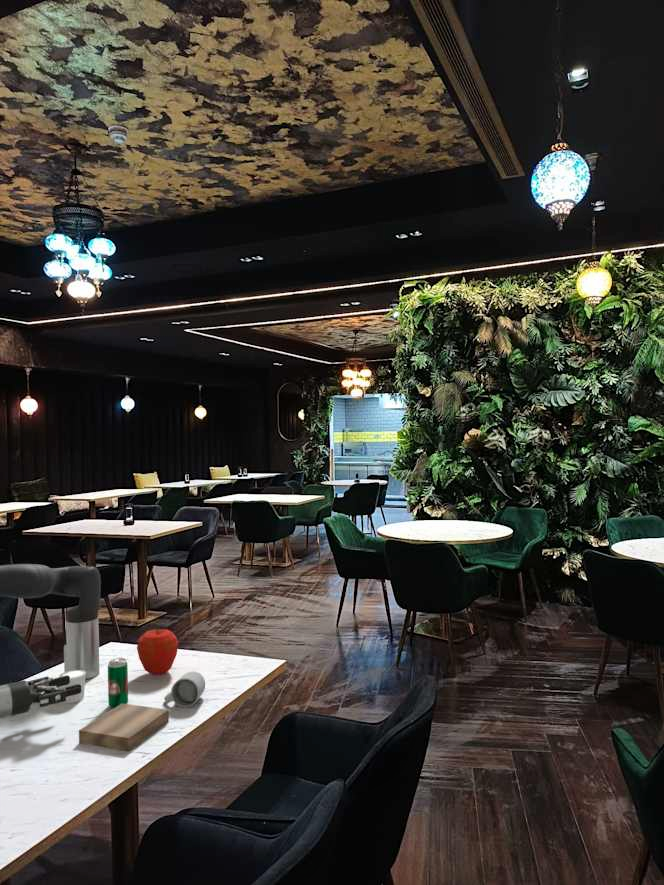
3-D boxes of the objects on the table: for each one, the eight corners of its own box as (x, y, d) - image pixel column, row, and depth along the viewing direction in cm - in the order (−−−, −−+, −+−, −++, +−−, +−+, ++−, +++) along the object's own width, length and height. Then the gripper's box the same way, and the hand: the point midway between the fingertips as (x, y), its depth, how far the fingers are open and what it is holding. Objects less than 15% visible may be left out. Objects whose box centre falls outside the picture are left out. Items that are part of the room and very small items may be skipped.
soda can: (104, 707, 169) (103, 662, 169) (118, 700, 174) (117, 656, 174) (118, 710, 167) (117, 665, 167) (132, 703, 172) (131, 659, 172)
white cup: (76, 704, 171) (76, 679, 171) (54, 703, 173) (53, 677, 173) (91, 694, 178) (90, 670, 178) (69, 693, 179) (69, 668, 179)
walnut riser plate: (79, 743, 149) (78, 730, 149) (122, 714, 164) (121, 703, 164) (129, 751, 144) (128, 738, 144) (168, 721, 160) (168, 709, 160)
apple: (129, 675, 193) (128, 629, 193) (163, 664, 202) (162, 620, 202) (152, 684, 185) (152, 636, 185) (186, 672, 194) (185, 626, 194)
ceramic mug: (207, 695, 176) (206, 667, 176) (199, 707, 168) (198, 678, 168) (170, 696, 176) (168, 668, 177) (160, 708, 168) (158, 679, 168)
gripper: (14, 693, 147) (84, 676, 157) (-2, 677, 157) (65, 662, 168) (14, 725, 147) (85, 706, 157) (-2, 707, 157) (65, 690, 168)
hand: (74, 683), depth 163 cm, fingers open, 8 cm apart
